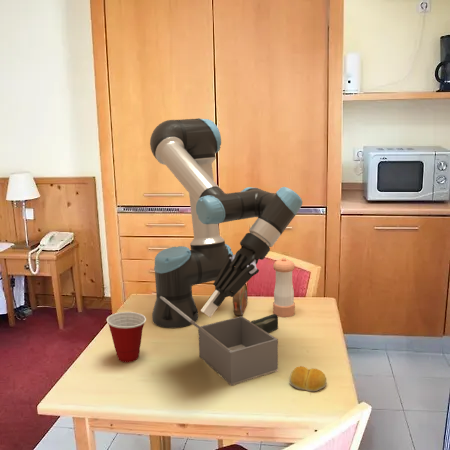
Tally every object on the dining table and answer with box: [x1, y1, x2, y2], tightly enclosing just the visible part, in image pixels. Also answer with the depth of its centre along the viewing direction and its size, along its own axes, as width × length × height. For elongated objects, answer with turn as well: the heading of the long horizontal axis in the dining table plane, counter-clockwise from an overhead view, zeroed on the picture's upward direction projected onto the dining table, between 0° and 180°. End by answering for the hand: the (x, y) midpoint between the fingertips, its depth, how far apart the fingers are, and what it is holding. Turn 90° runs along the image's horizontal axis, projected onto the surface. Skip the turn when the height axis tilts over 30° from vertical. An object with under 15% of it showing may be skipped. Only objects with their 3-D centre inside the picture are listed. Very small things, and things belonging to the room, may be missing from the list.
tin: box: [232, 283, 249, 316], centre depth 175 cm, size 15×3×8 cm, turn 168°
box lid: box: [159, 296, 230, 353], centre depth 130 cm, size 19×14×1 cm
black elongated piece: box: [250, 313, 279, 334], centre depth 157 cm, size 5×3×15 cm
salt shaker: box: [272, 257, 296, 318], centre depth 171 cm, size 7×7×19 cm
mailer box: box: [197, 315, 279, 387], centre depth 139 cm, size 18×14×9 cm
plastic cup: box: [106, 311, 147, 363], centre depth 143 cm, size 11×11×12 cm
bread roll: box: [288, 365, 327, 392], centre depth 129 cm, size 8×9×4 cm
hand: (205, 314), depth 131 cm, fingers closed
